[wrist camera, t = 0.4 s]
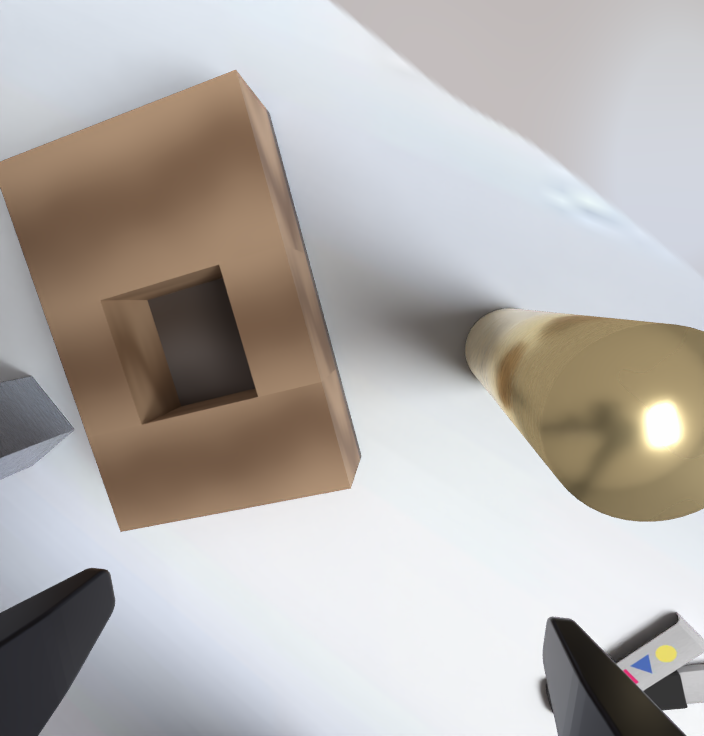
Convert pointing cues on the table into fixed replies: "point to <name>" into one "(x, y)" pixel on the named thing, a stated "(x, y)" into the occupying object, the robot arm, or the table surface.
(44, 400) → the grey rectangular block
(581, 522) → the table surface
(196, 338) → the bore block
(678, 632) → the usb flash drive
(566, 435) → the brass pin
